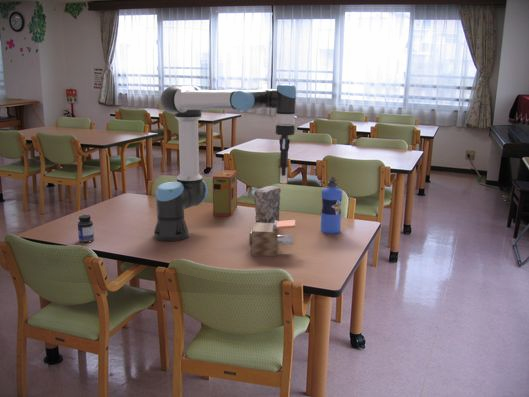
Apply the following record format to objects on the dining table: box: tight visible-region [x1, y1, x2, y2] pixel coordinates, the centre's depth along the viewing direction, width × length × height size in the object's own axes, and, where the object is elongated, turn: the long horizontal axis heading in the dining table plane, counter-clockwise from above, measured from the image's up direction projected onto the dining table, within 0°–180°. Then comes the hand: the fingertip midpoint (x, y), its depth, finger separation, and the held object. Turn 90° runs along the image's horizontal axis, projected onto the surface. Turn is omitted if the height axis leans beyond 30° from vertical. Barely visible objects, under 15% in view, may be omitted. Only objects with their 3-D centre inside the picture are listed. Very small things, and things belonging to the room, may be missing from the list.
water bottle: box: [320, 176, 343, 235], centre depth 243 cm, size 9×9×25 cm
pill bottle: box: [77, 214, 95, 243], centre depth 228 cm, size 6×6×11 cm
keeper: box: [273, 219, 297, 230], centre depth 216 cm, size 9×9×2 cm
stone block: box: [253, 185, 281, 223], centre depth 244 cm, size 13×7×20 cm, turn 151°
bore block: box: [251, 222, 280, 257], centre depth 218 cm, size 10×12×10 cm
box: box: [212, 169, 238, 217], centre depth 275 cm, size 17×9×20 cm, turn 172°
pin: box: [248, 230, 294, 247], centre depth 218 cm, size 17×6×6 cm, turn 85°
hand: (283, 182), depth 217 cm, fingers closed
